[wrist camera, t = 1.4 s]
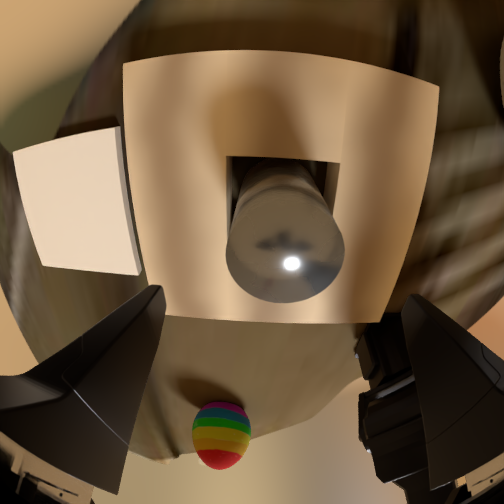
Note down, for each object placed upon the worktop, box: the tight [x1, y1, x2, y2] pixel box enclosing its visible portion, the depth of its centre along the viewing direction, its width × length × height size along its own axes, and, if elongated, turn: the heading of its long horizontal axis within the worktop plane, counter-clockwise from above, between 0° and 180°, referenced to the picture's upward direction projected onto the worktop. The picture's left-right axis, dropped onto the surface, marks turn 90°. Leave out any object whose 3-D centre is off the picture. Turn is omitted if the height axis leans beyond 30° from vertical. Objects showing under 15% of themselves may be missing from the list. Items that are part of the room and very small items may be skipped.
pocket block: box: [123, 50, 439, 323], centre depth 17 cm, size 18×18×3 cm
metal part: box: [225, 157, 345, 303], centre depth 15 cm, size 5×5×8 cm
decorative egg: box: [192, 402, 251, 470], centre depth 31 cm, size 8×8×10 cm
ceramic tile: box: [13, 126, 142, 275], centre depth 19 cm, size 12×12×1 cm
